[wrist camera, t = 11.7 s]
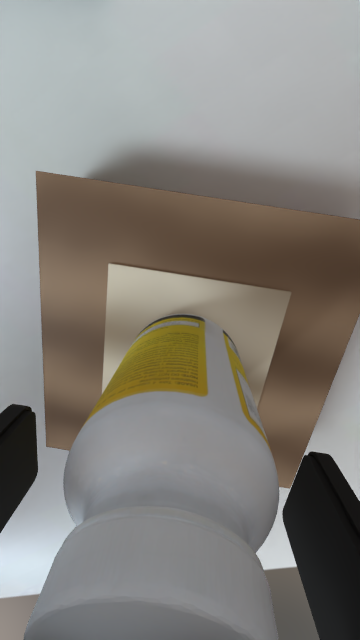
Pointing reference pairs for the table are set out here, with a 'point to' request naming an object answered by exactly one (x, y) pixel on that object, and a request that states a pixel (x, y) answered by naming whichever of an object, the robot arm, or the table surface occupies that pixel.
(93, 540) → the pill bottle
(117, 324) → the stand
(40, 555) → the table surface
